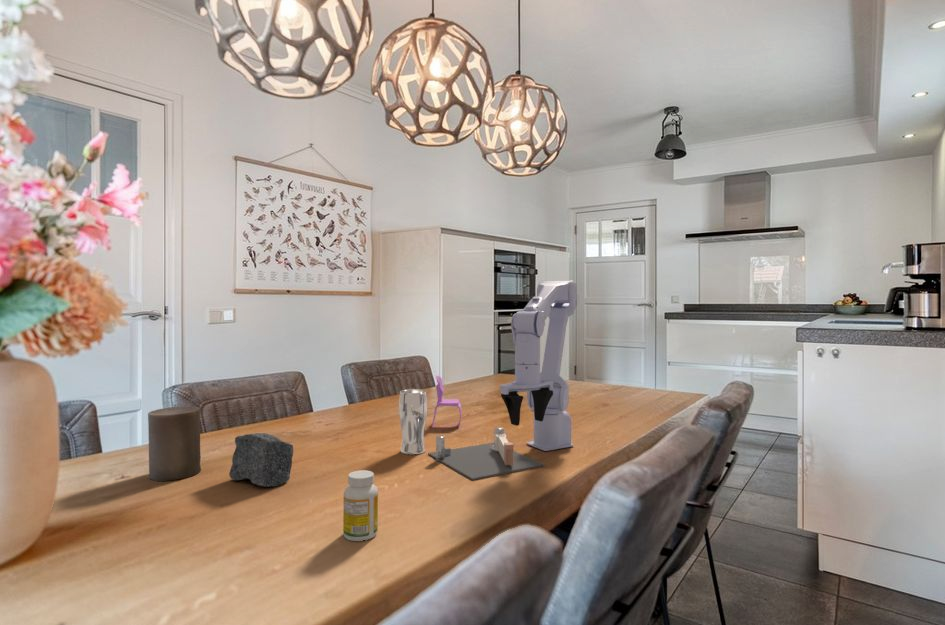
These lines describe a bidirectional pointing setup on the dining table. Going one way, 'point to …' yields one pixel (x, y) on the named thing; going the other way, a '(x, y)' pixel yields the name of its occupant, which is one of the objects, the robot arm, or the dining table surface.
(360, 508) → the supplement bottle
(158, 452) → the pillar candle
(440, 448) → the post
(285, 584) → the dining table surface
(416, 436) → the beer glass
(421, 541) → the dining table surface
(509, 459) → the gate
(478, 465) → the mat
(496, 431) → the post
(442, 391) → the toy chair
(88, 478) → the dining table surface
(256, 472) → the stone
